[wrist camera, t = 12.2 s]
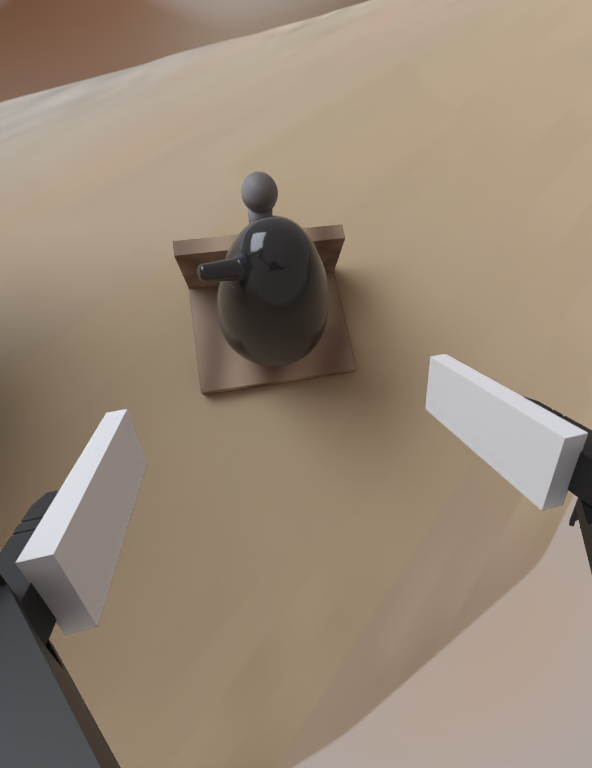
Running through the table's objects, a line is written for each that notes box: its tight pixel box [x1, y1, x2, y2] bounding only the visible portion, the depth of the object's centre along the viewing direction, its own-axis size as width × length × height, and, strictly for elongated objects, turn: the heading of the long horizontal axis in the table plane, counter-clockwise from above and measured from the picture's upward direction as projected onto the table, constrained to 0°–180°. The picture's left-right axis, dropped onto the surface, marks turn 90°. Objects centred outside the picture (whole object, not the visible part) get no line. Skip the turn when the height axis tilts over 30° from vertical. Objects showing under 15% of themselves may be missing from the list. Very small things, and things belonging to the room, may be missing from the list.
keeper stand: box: [173, 172, 356, 395], centre depth 30 cm, size 16×14×14 cm
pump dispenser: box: [197, 216, 329, 366], centre depth 28 cm, size 10×10×15 cm
